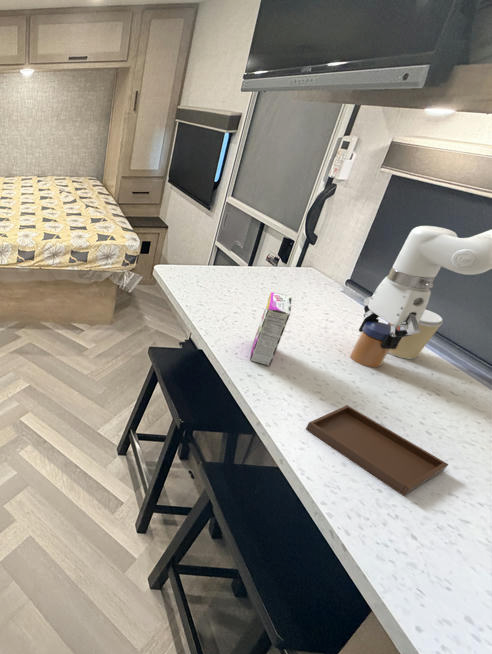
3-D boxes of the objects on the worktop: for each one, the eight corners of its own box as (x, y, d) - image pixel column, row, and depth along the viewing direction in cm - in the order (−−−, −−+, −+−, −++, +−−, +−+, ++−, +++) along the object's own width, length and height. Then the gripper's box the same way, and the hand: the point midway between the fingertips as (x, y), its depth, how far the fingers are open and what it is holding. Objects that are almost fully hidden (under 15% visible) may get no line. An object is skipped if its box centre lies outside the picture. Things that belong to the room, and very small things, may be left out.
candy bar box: (252, 341, 115) (270, 291, 107) (272, 346, 112) (292, 295, 104) (248, 360, 107) (267, 308, 99) (270, 367, 104) (291, 313, 96)
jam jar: (386, 363, 105) (403, 333, 100) (371, 369, 103) (389, 339, 98) (358, 350, 110) (373, 321, 106) (344, 356, 108) (359, 326, 103)
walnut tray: (443, 471, 76) (448, 464, 75) (404, 496, 71) (409, 489, 70) (343, 411, 90) (347, 404, 89) (305, 429, 85) (308, 422, 84)
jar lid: (379, 326, 106) (382, 320, 105) (404, 340, 100) (408, 334, 99) (355, 327, 105) (358, 321, 104) (379, 342, 99) (382, 336, 98)
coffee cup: (367, 339, 115) (386, 303, 109) (404, 342, 113) (425, 306, 108) (390, 359, 107) (412, 321, 101) (430, 362, 105) (454, 324, 100)
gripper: (461, 295, 87) (420, 360, 95) (397, 264, 102) (366, 322, 111) (424, 294, 88) (386, 359, 96) (366, 263, 103) (337, 321, 111)
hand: (376, 339), depth 103 cm, fingers closed on jar lid, 6 cm apart
